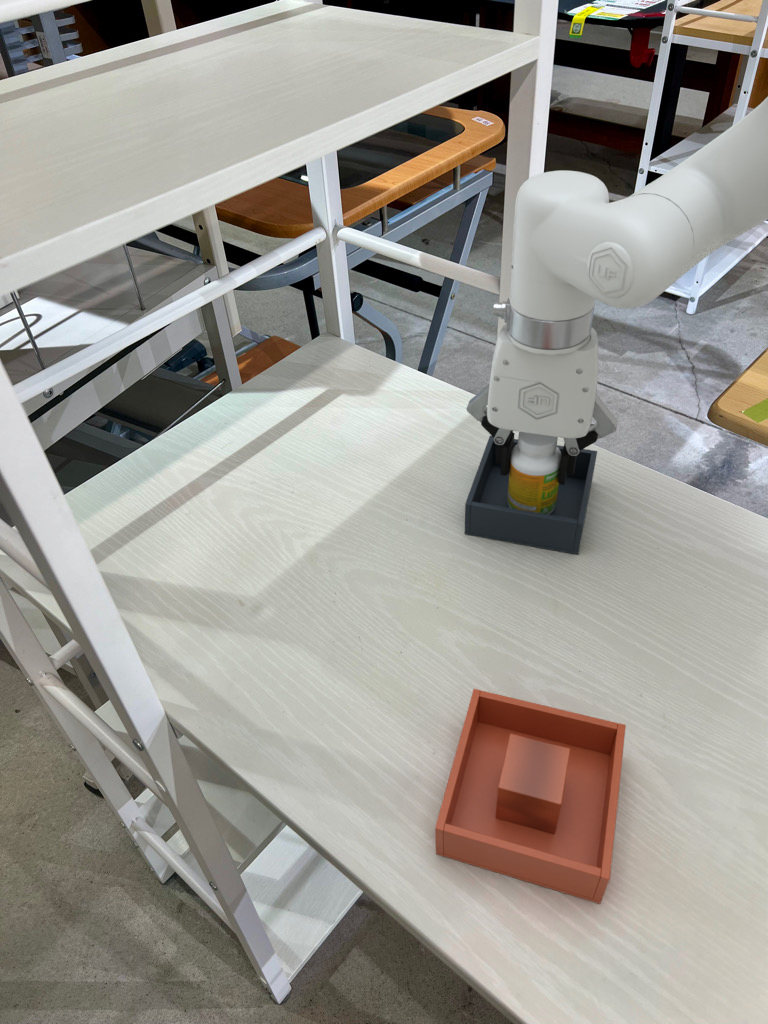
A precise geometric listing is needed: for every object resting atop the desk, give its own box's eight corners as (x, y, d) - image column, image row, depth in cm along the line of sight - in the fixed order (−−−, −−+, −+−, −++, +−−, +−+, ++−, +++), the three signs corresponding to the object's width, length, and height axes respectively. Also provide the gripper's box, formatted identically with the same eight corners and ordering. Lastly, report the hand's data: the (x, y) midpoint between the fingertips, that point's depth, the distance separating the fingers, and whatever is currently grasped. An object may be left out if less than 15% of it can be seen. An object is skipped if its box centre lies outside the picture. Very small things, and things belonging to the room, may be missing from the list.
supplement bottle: (544, 526, 81) (552, 456, 74) (499, 511, 83) (503, 441, 76) (563, 497, 84) (572, 427, 77) (519, 482, 86) (524, 414, 80)
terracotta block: (563, 780, 60) (570, 748, 56) (554, 835, 57) (561, 804, 53) (506, 765, 61) (510, 732, 58) (495, 818, 58) (497, 787, 54)
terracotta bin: (617, 753, 62) (625, 724, 59) (600, 904, 53) (609, 879, 50) (472, 717, 65) (473, 688, 62) (435, 854, 57) (434, 828, 53)
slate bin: (592, 481, 86) (597, 450, 83) (578, 555, 78) (583, 524, 75) (488, 465, 90) (489, 435, 87) (464, 534, 81) (465, 504, 78)
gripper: (448, 330, 68) (448, 481, 80) (644, 351, 63) (613, 508, 75) (467, 292, 73) (465, 439, 85) (650, 309, 68) (620, 462, 81)
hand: (534, 470), depth 80 cm, fingers closed on supplement bottle, 5 cm apart
